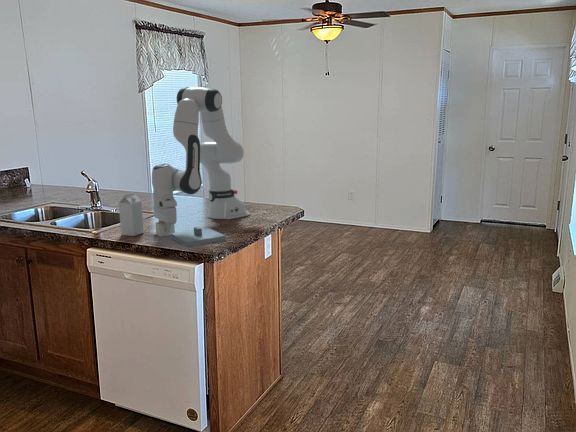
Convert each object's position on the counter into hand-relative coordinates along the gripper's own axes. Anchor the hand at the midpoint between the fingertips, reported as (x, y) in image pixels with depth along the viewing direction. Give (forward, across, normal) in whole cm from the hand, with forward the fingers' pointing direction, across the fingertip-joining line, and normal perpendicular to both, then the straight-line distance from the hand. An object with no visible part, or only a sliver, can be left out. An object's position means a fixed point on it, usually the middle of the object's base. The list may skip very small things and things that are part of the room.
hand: (165, 230), depth 231 cm
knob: (+2, 0, 0) cm, 2 cm away
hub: (+2, +16, +9) cm, 18 cm away
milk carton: (+2, -10, -12) cm, 16 cm away
